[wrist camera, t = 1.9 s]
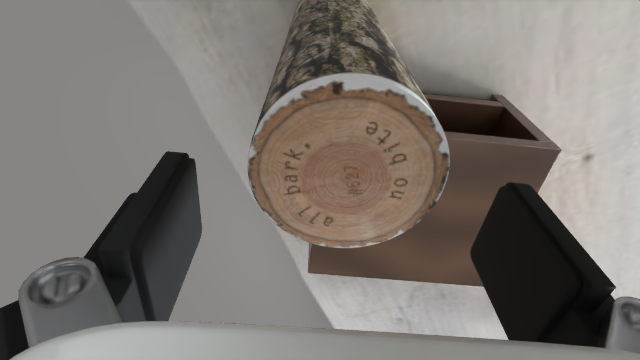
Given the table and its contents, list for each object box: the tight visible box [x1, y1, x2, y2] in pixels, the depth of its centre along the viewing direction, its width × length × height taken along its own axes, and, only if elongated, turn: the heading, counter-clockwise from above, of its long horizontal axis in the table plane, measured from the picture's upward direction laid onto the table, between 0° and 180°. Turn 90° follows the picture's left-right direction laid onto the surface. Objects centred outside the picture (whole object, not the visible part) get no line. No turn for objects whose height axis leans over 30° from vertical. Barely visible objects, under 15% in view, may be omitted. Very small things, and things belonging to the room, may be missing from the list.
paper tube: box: [248, 0, 450, 248], centre depth 23 cm, size 7×7×25 cm
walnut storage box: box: [308, 94, 561, 287], centre depth 36 cm, size 16×18×11 cm
